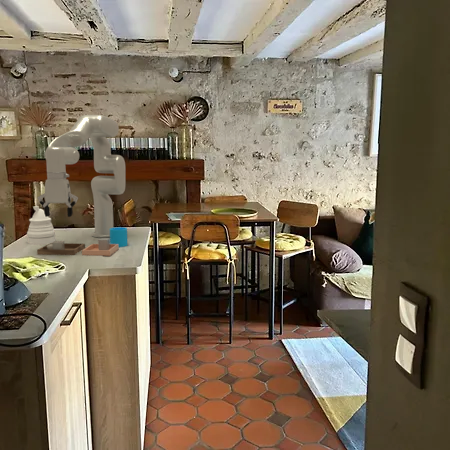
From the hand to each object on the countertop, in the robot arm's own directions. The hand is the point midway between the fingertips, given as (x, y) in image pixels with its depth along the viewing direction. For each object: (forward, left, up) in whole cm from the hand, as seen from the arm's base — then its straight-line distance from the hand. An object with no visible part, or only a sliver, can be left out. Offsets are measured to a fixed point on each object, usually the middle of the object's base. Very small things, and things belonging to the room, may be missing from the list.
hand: (58, 216), depth 195 cm
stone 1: (0, -1, -16) cm, 16 cm away
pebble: (-3, -6, -16) cm, 18 cm away
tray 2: (-3, +17, -17) cm, 24 cm away
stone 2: (-7, +17, -16) cm, 25 cm away
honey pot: (-23, -19, -17) cm, 34 cm away
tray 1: (-3, -1, -17) cm, 17 cm away
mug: (-21, +20, -17) cm, 34 cm away
